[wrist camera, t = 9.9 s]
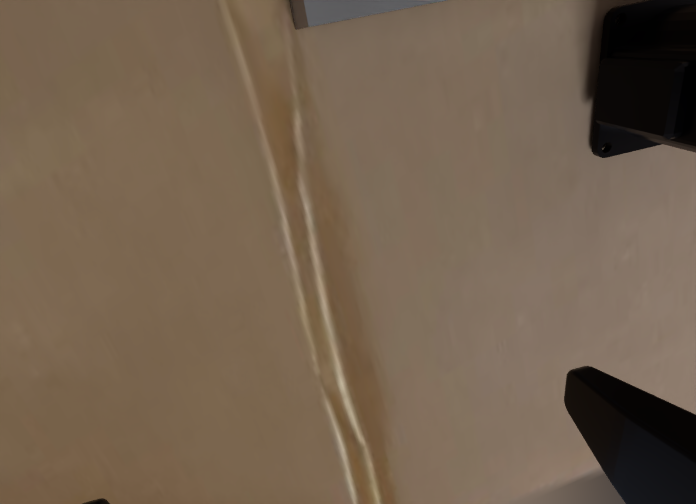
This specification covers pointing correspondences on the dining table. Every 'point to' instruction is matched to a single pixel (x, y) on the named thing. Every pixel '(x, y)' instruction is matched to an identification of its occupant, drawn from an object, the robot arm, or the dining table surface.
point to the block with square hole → (344, 9)
